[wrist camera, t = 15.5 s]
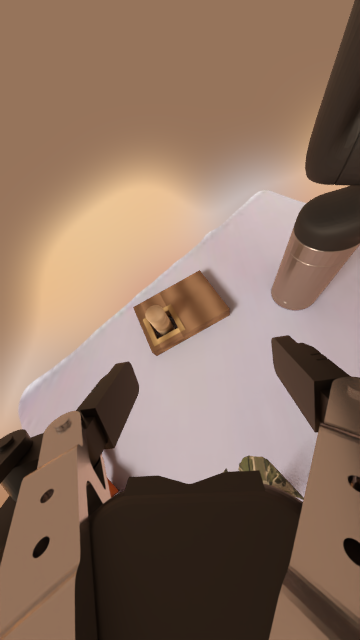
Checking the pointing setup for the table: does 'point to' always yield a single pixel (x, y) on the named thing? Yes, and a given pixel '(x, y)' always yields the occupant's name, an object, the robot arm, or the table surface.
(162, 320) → the pin
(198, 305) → the pin board
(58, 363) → the table surface
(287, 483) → the eiffel tower figurine
